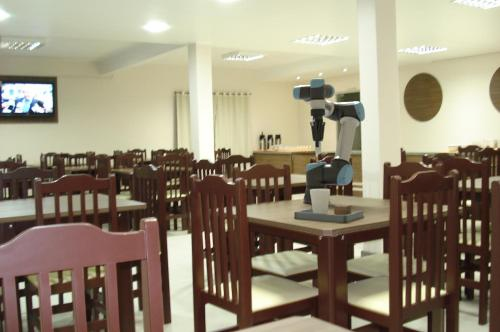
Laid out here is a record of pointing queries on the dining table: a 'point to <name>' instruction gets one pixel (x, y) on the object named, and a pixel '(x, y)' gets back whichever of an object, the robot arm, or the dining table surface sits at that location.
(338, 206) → the walnut block
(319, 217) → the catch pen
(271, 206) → the dining table surface
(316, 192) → the foam cup
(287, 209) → the dining table surface
